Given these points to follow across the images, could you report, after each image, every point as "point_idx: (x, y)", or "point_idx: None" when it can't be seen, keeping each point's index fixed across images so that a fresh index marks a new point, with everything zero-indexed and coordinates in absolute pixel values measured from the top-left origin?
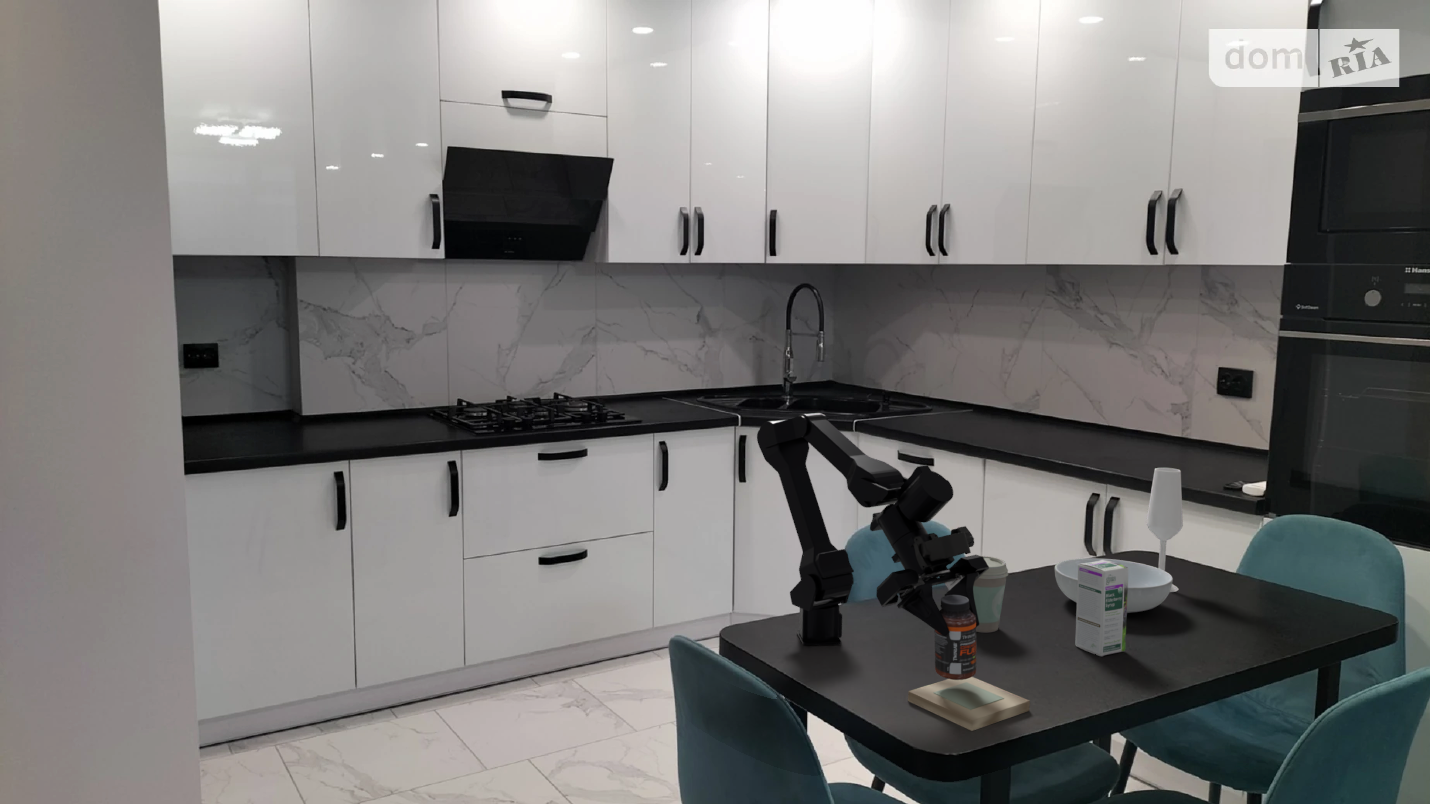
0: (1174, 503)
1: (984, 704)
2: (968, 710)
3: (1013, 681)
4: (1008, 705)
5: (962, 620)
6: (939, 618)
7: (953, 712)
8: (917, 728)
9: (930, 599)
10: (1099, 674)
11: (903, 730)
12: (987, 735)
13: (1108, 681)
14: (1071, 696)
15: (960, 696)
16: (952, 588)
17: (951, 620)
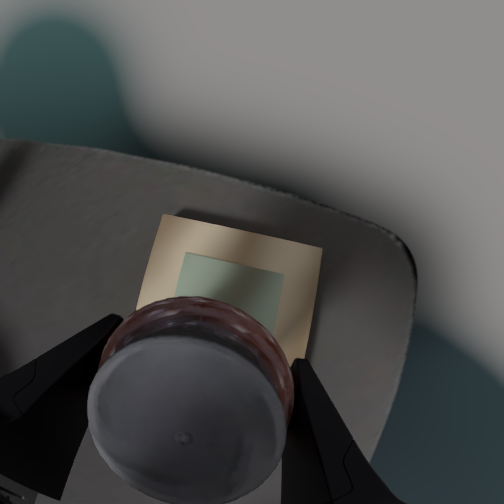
0: None
1: (243, 265)
2: (290, 275)
3: (68, 301)
4: (212, 231)
5: (247, 328)
6: (335, 409)
7: (315, 293)
8: (370, 324)
9: (358, 500)
10: (3, 215)
11: (389, 334)
12: (310, 227)
13: (17, 195)
14: (77, 202)
15: None
16: (32, 487)
17: (284, 371)
